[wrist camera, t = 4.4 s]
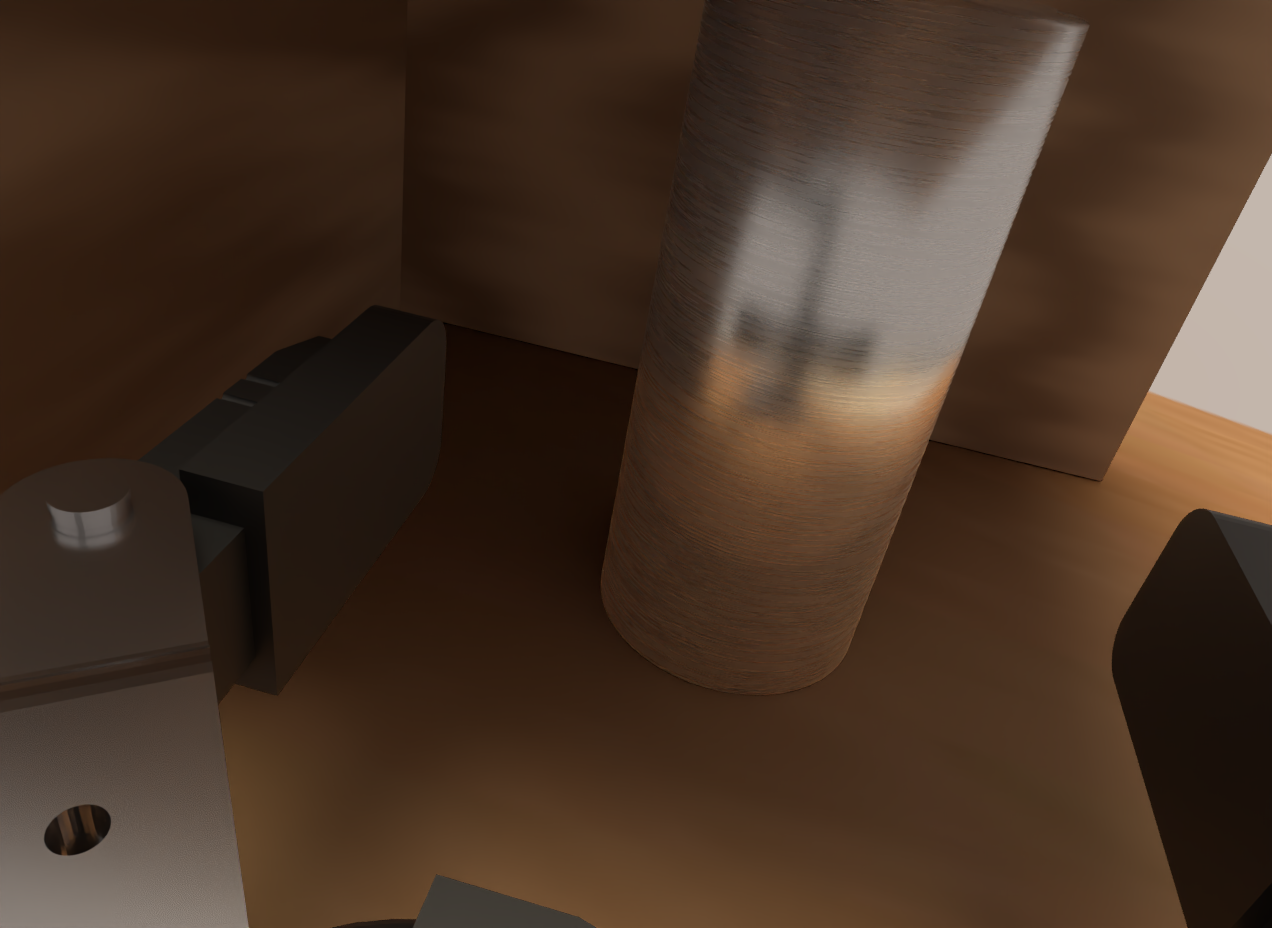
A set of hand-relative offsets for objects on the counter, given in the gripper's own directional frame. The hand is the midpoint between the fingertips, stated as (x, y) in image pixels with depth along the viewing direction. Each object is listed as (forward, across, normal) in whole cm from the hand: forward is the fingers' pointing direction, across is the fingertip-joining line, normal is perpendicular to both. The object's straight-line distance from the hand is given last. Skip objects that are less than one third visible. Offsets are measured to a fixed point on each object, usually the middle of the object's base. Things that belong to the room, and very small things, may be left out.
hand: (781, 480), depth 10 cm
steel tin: (+6, 0, +6) cm, 9 cm away
